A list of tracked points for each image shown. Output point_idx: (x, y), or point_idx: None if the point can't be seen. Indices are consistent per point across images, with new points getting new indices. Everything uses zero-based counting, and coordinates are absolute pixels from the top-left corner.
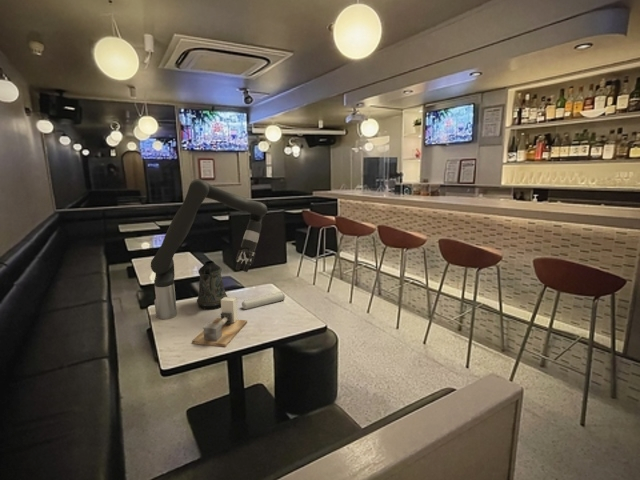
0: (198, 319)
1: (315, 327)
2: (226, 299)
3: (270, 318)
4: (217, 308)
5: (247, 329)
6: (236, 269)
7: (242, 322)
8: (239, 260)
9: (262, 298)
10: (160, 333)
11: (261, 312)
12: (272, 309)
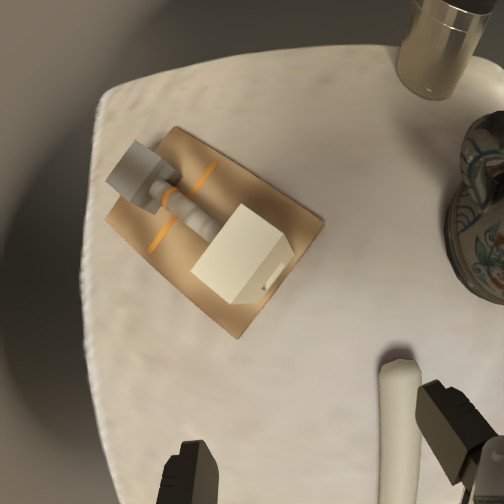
0: (362, 156)
1: (118, 493)
2: (233, 238)
3: (236, 432)
4: (446, 248)
5: (181, 319)
6: (418, 390)
7: (226, 315)
8: (471, 492)
9: (393, 461)
10: (291, 53)
11: (314, 423)
12: (320, 469)
